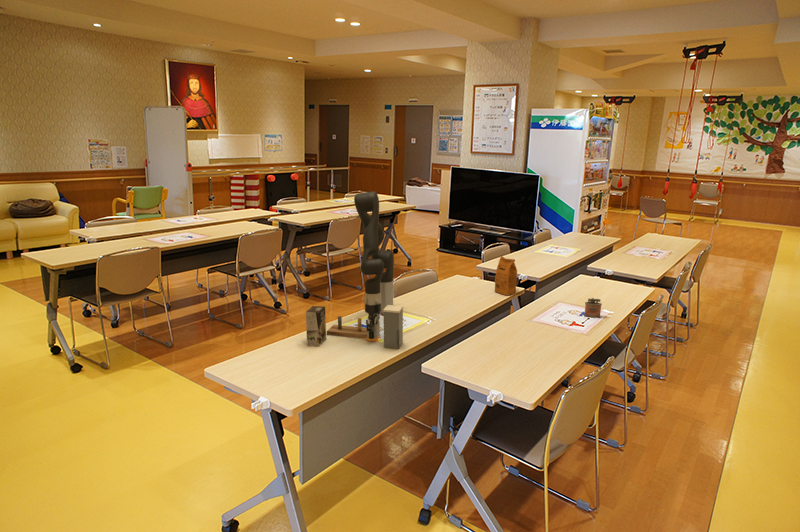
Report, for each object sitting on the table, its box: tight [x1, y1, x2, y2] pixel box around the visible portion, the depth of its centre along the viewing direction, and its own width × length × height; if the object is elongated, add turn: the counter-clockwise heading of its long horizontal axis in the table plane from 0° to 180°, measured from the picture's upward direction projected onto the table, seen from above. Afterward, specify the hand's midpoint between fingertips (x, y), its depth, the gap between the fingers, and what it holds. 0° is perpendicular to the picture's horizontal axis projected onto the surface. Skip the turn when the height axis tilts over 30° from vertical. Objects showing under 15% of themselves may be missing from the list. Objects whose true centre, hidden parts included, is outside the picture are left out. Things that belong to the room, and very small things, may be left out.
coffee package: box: [494, 255, 518, 296], centre depth 312 cm, size 10×12×22 cm
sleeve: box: [365, 321, 381, 342], centre depth 241 cm, size 5×5×8 cm
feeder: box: [382, 304, 404, 350], centre depth 233 cm, size 7×7×18 cm
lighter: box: [583, 297, 603, 319], centre depth 271 cm, size 8×3×10 cm, turn 73°
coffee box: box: [305, 305, 327, 347], centre depth 237 cm, size 9×6×16 cm
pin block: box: [326, 315, 367, 340], centre depth 248 cm, size 9×20×8 cm, turn 76°
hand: (373, 336), depth 242 cm, fingers open, 5 cm apart
